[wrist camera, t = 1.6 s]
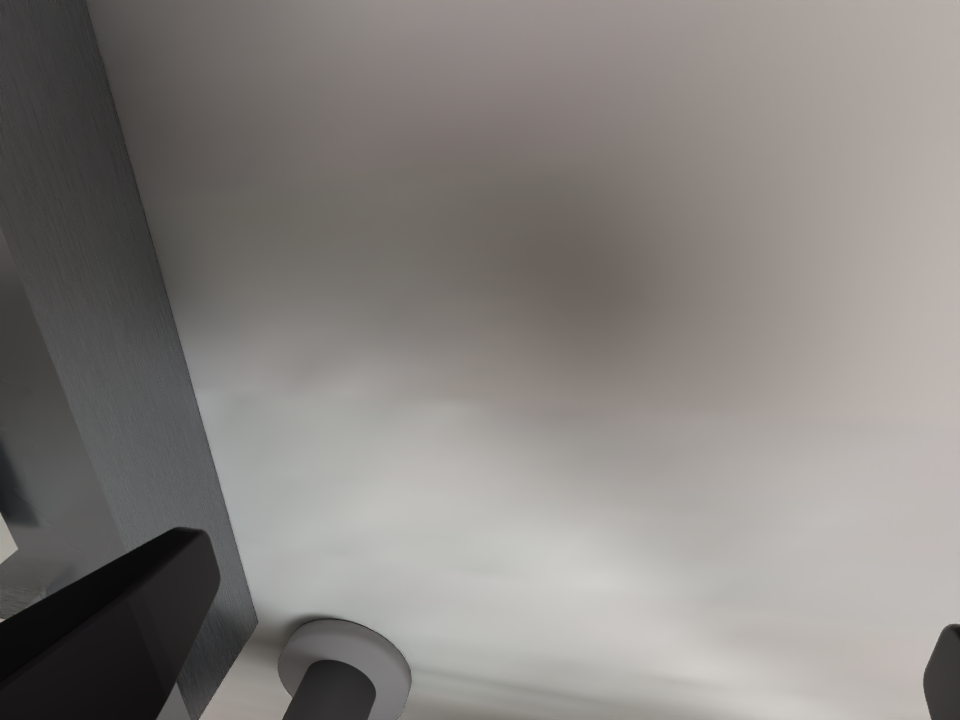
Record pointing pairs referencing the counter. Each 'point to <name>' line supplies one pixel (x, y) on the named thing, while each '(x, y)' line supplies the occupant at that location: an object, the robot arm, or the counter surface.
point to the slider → (5, 541)
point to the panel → (92, 350)
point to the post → (343, 673)
